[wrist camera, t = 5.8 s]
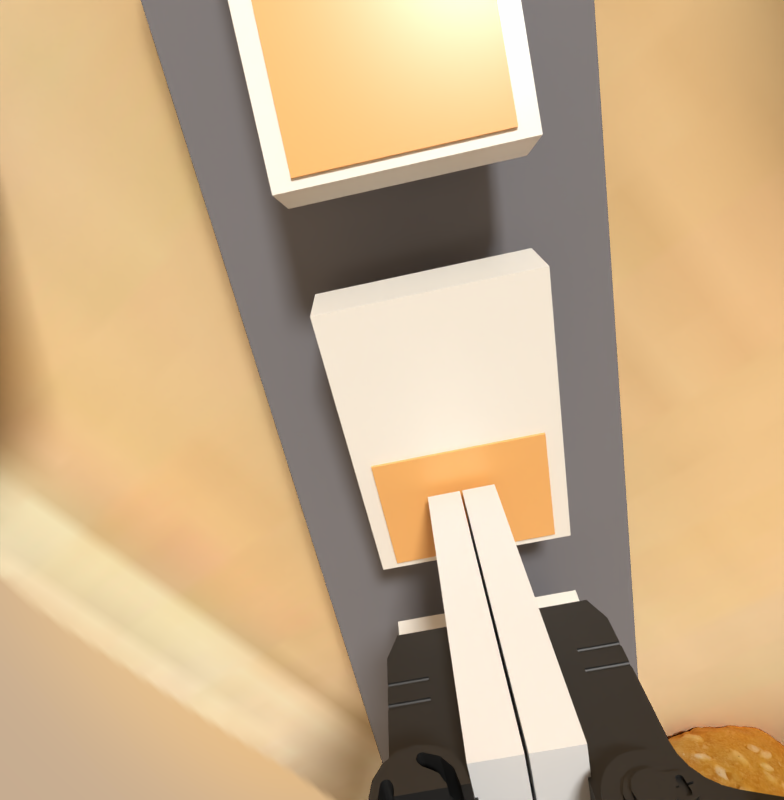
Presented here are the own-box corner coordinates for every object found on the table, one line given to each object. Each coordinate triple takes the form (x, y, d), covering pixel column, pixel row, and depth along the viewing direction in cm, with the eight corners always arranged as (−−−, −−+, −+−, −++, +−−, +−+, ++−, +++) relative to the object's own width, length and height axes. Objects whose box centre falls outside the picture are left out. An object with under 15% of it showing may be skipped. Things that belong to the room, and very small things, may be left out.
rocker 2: (315, 294, 13) (309, 317, 12) (531, 248, 13) (550, 267, 11) (381, 532, 16) (383, 572, 15) (554, 500, 16) (571, 537, 15)
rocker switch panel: (138, -165, 14) (33, -303, 10) (515, -265, 14) (578, -460, 9) (386, 684, 25) (387, 795, 20) (601, 647, 24) (649, 753, 20)
